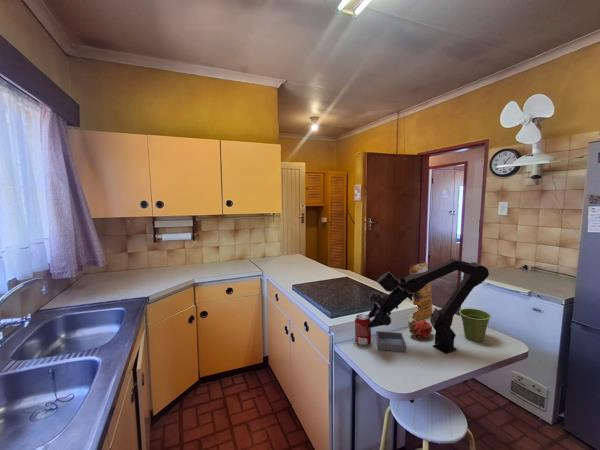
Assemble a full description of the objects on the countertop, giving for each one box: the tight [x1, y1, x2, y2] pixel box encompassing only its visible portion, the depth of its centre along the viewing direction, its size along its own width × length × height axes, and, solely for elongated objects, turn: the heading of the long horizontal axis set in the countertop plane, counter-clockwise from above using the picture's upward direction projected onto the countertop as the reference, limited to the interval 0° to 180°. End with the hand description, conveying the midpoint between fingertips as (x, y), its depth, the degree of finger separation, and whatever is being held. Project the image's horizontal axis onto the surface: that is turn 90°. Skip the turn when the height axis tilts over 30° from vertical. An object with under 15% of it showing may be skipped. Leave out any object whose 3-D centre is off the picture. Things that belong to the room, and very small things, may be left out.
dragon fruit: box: [409, 319, 433, 340], centre depth 125 cm, size 8×8×12 cm
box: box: [375, 330, 407, 354], centre depth 118 cm, size 11×11×3 cm
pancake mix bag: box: [408, 261, 434, 321], centre depth 146 cm, size 7×19×28 cm, turn 123°
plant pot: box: [458, 307, 492, 343], centre depth 121 cm, size 12×12×11 cm
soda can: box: [354, 313, 372, 347], centre depth 120 cm, size 7×7×12 cm
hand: (367, 322), depth 120 cm, fingers open, 9 cm apart
